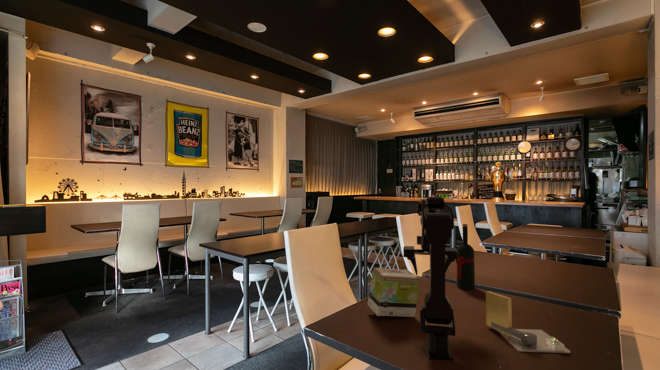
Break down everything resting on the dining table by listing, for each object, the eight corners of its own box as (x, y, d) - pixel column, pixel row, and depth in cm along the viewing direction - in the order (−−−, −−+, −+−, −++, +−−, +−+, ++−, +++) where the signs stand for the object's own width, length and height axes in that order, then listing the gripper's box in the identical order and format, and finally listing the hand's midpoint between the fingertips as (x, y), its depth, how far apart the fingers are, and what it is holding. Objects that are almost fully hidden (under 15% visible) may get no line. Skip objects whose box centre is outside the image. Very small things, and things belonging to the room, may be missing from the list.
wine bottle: (450, 287, 152) (449, 224, 153) (463, 284, 158) (462, 223, 159) (465, 291, 146) (464, 225, 147) (478, 288, 152) (477, 224, 152)
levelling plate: (570, 353, 91) (570, 342, 91) (518, 351, 92) (518, 341, 92) (541, 331, 105) (541, 322, 105) (496, 330, 106) (496, 321, 106)
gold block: (540, 343, 94) (539, 305, 95) (531, 346, 93) (530, 307, 93) (491, 323, 109) (491, 290, 109) (483, 325, 107) (483, 292, 107)
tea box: (377, 317, 112) (383, 275, 112) (366, 305, 122) (372, 266, 122) (415, 317, 117) (421, 277, 116) (402, 305, 126) (407, 268, 126)
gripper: (453, 229, 121) (453, 269, 123) (403, 228, 126) (403, 267, 127) (459, 236, 111) (458, 280, 112) (403, 234, 115) (403, 277, 116)
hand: (429, 275), depth 117 cm, fingers open, 9 cm apart
